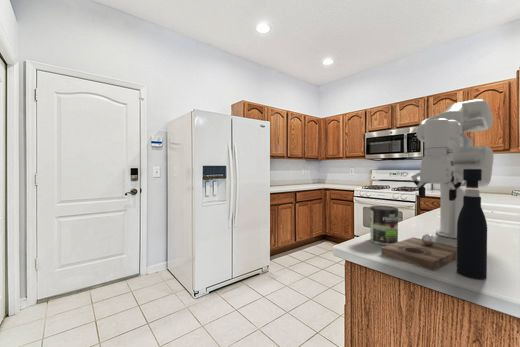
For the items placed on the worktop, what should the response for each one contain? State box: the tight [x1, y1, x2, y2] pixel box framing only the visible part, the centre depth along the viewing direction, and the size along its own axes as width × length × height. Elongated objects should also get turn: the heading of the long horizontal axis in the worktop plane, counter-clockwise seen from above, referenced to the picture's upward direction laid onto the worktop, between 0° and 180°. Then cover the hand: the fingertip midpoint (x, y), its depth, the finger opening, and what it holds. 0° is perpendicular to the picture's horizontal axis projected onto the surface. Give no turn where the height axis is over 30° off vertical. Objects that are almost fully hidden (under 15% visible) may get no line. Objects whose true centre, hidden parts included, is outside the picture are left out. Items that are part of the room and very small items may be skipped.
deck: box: [380, 237, 457, 271], centre depth 84 cm, size 22×16×2 cm
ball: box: [421, 233, 436, 246], centre depth 86 cm, size 4×4×4 cm
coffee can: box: [369, 205, 399, 246], centre depth 99 cm, size 10×10×14 cm
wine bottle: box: [456, 169, 488, 280], centre depth 68 cm, size 6×6×30 cm
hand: (436, 198), depth 90 cm, fingers open, 9 cm apart
